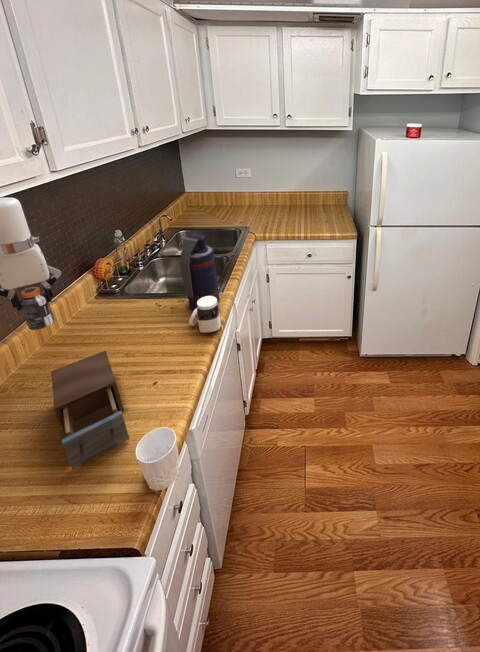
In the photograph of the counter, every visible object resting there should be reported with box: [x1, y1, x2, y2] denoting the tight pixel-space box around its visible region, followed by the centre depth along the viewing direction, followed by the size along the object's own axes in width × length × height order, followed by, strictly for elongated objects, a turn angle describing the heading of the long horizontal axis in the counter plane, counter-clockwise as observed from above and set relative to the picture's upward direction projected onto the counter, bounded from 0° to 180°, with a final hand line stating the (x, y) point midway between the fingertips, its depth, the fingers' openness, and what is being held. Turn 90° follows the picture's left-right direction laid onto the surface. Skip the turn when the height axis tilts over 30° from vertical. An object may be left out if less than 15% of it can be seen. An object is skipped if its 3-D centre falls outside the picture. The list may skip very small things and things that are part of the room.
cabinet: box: [50, 350, 125, 438], centre depth 89 cm, size 15×13×10 cm
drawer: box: [61, 387, 130, 470], centre depth 79 cm, size 18×12×8 cm, turn 39°
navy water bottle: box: [178, 233, 220, 310], centre depth 130 cm, size 14×12×30 cm
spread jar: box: [188, 296, 222, 335], centre depth 120 cm, size 12×11×12 cm
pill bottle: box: [19, 286, 55, 331], centre depth 93 cm, size 6×6×11 cm
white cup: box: [134, 426, 180, 492], centre depth 72 cm, size 8×8×10 cm
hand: (34, 303), depth 93 cm, fingers closed on pill bottle, 6 cm apart
